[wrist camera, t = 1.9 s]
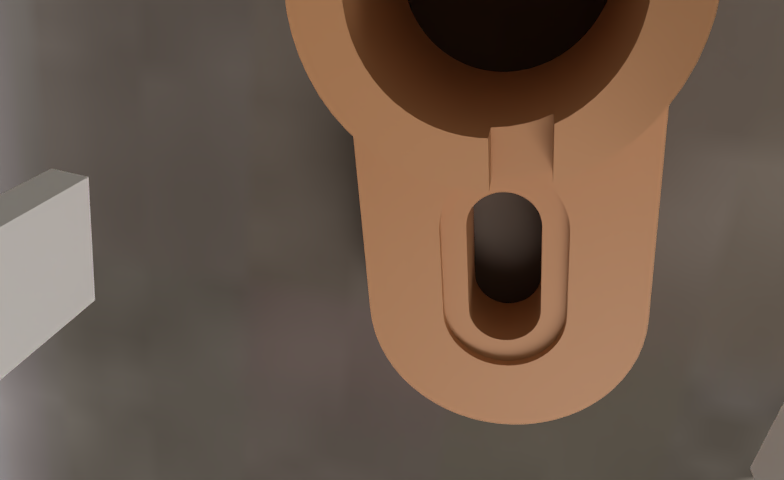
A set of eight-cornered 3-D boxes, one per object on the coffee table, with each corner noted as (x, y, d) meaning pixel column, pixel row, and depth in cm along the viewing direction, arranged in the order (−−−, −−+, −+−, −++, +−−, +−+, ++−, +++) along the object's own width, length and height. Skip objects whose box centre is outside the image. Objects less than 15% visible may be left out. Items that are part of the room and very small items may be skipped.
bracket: (349, -192, 19) (253, -241, 12) (679, -230, 17) (757, -308, 11) (396, 367, 26) (350, 509, 20) (628, 380, 24) (657, 538, 18)
